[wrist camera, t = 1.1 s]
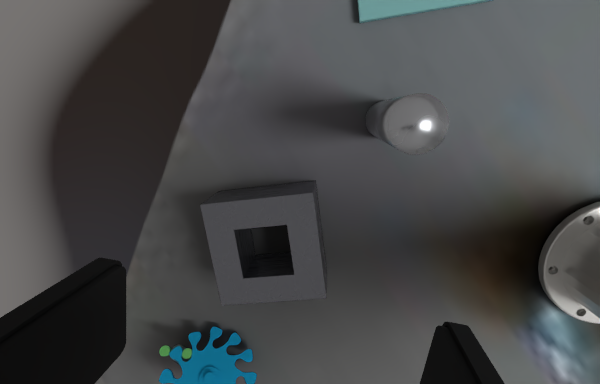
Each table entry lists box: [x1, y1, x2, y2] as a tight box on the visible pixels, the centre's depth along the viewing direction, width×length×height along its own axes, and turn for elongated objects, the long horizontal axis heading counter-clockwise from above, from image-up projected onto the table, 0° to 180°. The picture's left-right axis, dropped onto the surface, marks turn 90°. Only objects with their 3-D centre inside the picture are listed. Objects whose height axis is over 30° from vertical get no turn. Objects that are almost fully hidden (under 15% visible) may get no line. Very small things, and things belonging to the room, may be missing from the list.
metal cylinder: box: [365, 93, 449, 155], centre depth 24 cm, size 3×3×12 cm
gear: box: [159, 327, 257, 384], centre depth 36 cm, size 11×6×10 cm
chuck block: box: [200, 180, 327, 305], centre depth 31 cm, size 10×10×5 cm
